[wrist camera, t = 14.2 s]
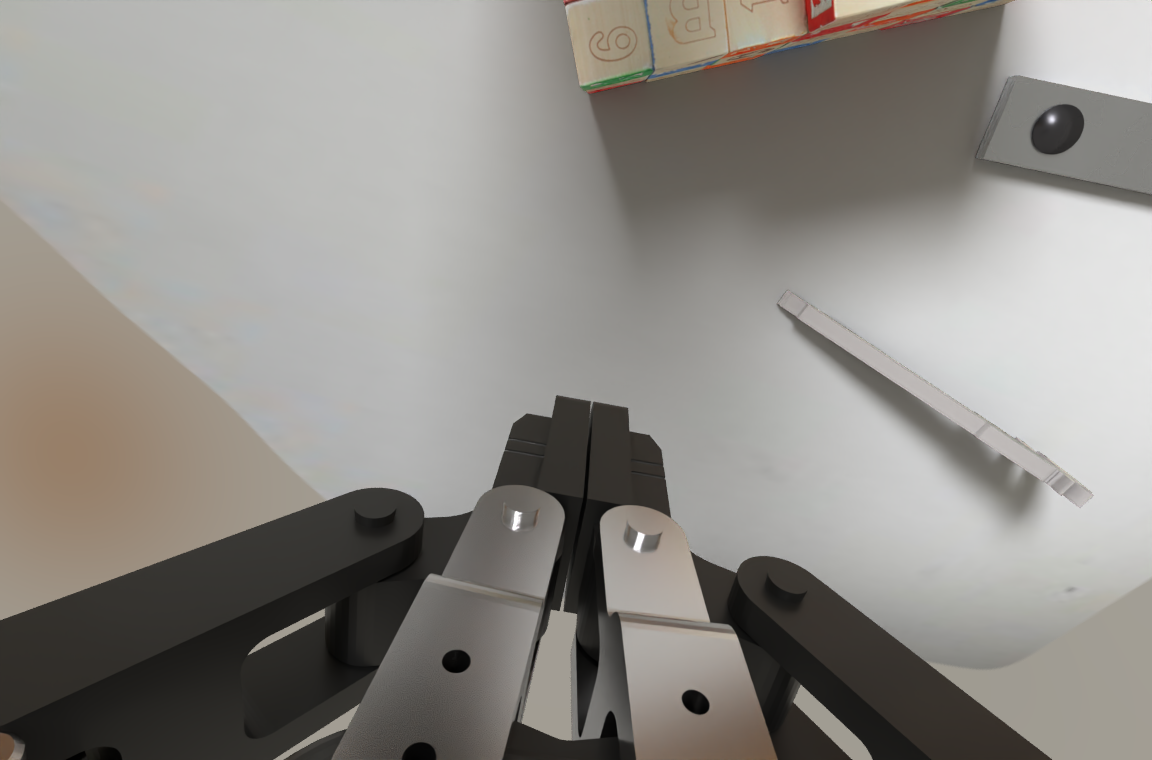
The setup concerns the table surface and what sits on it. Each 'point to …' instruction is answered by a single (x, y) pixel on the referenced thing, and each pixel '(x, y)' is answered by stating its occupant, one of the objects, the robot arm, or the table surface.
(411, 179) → the table surface
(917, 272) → the table surface
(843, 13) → the stack of blocks
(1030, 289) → the table surface
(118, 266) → the table surface
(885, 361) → the caliper
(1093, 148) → the bolt strip
